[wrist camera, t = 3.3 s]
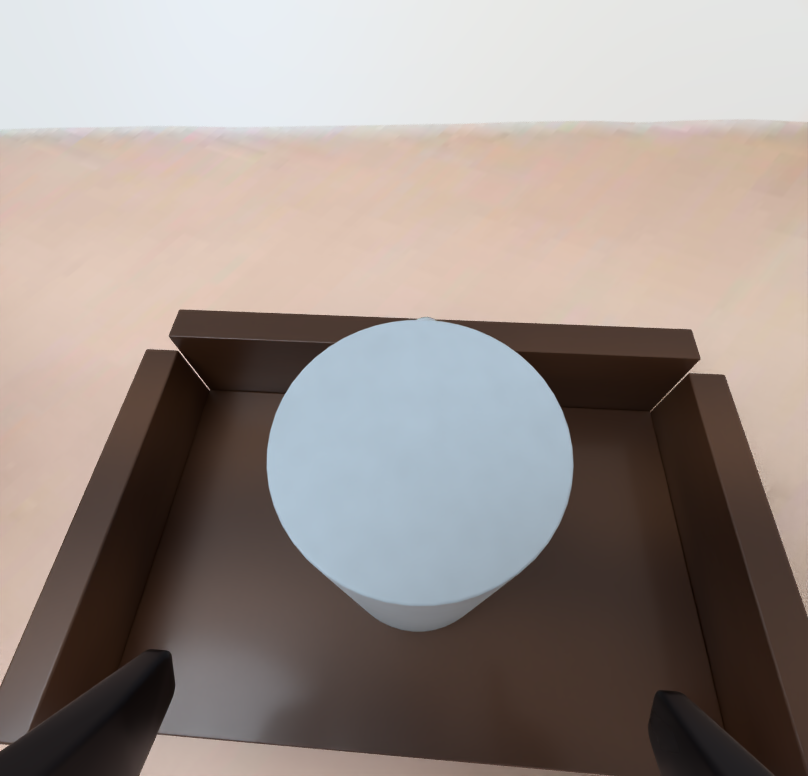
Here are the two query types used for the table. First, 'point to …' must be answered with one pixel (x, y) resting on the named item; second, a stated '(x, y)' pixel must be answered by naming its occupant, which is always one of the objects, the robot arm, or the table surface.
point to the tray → (471, 634)
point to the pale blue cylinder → (419, 468)
